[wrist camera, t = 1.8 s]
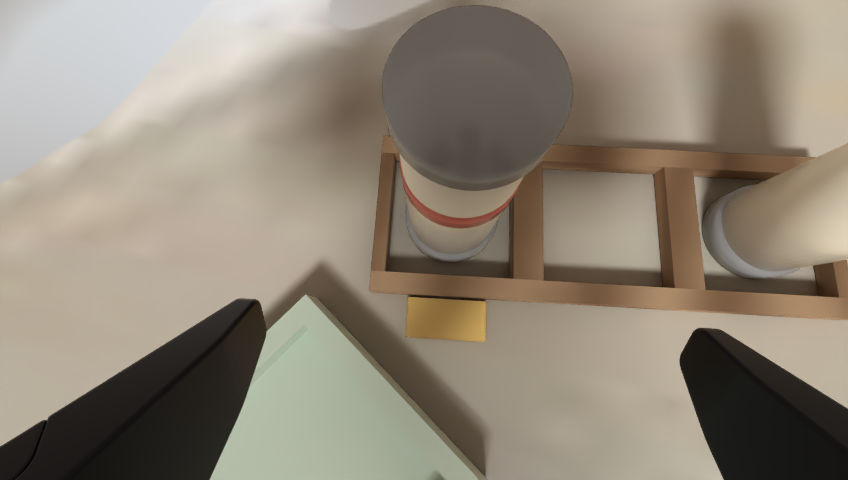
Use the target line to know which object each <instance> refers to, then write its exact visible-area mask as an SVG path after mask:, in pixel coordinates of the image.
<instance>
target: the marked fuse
mask: <svg viewBox="0 0 848 480" xmlns="http://www.w3.org/2000/svg"><path fill="white" fill-rule="evenodd" d="M572 96H573V90H572V79H571V73H570V70H569V67H568V64H567V61H566V59H565V57H564V55H563V53H562V52H561V50H560V49H559V47H558V46H557V44H556V43H555V42H554V41H553V39H552V38H551V37H550V36H549V35H548V34H547V33H546V32H545V31H544V30H542V29H541V28H540V27H539V26H538V25H536V24H535V23H533V22H532V21H530V20H528V19H527V18H525V17H523V16H521V15H519V14H516V13H514V12H511V11H508V10H505V9H501V8H497V7H491V6H480V5H469V6H459V7H453V8H449V9H446V10H442V11H439V12H437V13H434V14H432V15H430V16H428V17H426V18H424V19H422V20H421V21H419V22H418V23H416V24H415V25H414V26H412V27H411V28H410V29H409V30H408V31H407V32H406V33H405V34H404V35H403V36H402V37H401V38H400V39H399V40H398V42H397V43H396V44H395V46H394V48H393V49H392V51H391V53H390V55H389V57H388V59H387V62H386V64H385V68H384V73H383V79H382V97H383V102H384V107H385V112H386V117H387V123H388V128H389V132H390V135H391V138H392V140H393V143H394V145H395V146H396V148H397V150H398V152H399V153H400V169H401V175H402V181H403V186H404V189H405V192H406V198H407V205H406V222H407V227H408V232H409V235H410V237H411V239H412V241H413V242H414V244H415V245H416V247H417V248H418V249H419V250H420V251H421V252H423V253H424V254H425V255H427V256H428V257H430V258H432V259H435V260H438V261H442V262H450V263H452V262H460V261H464V260H467V259H470V258H472V257H474V256H475V255H477V254H478V253H479V252H480V251H482V250H483V249H484V247H485V246H486V245H487V243H488V242H489V240H490V239H491V237H492V236H493V234H494V232H495V229H496V226H497V222H498V218H499V217H500V215H501V213H502V212H503V210H504V209H505V208H506V207H507V206H508V204H509V203H510V201H511V199H512V198H513V196H514V195H515V193H516V191H517V190H518V188H519V186H520V184H521V181H522V179H523V177H524V176H525V175H526V174H528V173H529V172H530V171H531V170H533V169H534V168H535V167H536V166H537V165H538V164H539V163H540V161H541V160H542V159H543V158H544V156H545V155H546V153H547V152H548V150H549V149H550V147H551V146H552V144H553V143H554V141H555V140H556V138H557V136H558V135H559V133H560V132H561V130H562V129H563V127H564V125H565V123H566V120H567V118H568V116H569V112H570V109H571V104H572Z"/></svg>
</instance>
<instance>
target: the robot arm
mask: <svg viewBox="0 0 848 480" xmlns="http://www.w3.org/2000/svg"><path fill="white" fill-rule="evenodd" d="M265 338H266V324H265V320H264V316H263V312H262V308H261V304H260V302H259V301H258V300H256V299H243V298H241V299H237V300H235V301H233V302H231V303H230V304H228V305H227V306H225V307H223V308H222V309H220V310H219V311H217V312H215V313H214V314H212V315H211V316H209V317H207V318H206V319H204V320H203V321H201V322H199V323H198V324H196V325H195V326H193V327H191V328H190V329H188V330H187V331H185V332H183V333H182V334H180V335H179V336H177V337H175V338H174V339H172V340H171V341H169V342H167V343H166V344H164V345H163V346H161V347H159V348H158V349H156V350H155V351H153V352H151V353H150V354H148V355H147V356H145V357H143V358H142V359H140V360H139V361H137V362H135V363H134V364H132V365H131V366H129V367H127V368H126V369H124V370H123V371H121V372H119V373H118V374H116V375H115V376H113V377H111V378H110V379H108V380H107V381H105V382H103V383H102V384H100V385H99V386H97V387H95V388H94V389H92V390H91V391H89V392H87V393H86V394H84V395H83V396H81V397H79V398H78V399H76V400H75V401H73V402H71V403H70V404H68V405H67V406H65V407H63V408H62V409H60V410H59V411H57V412H55V413H54V414H52V415H51V416H49V417H48V419H47V420H43V421H41V422H39V423H38V424H36V425H34V426H33V427H31V428H30V429H28V430H26V431H25V432H23V433H22V434H20V435H18V436H17V437H15V438H14V439H12V440H10V441H9V442H7V443H5V444H4V445H2V446H0V480H210V478H211V476H212V474H213V471H214V469H215V467H216V465H217V463H218V460H219V458H220V456H221V454H222V452H223V449H224V447H225V445H226V443H227V441H228V438H229V436H230V434H231V432H232V430H233V428H234V425H235V423H236V421H237V419H238V416H239V414H240V412H241V409H242V407H243V404H244V402H245V399H246V396H247V393H248V390H249V387H250V384H251V381H252V378H253V375H254V372H255V369H256V366H257V363H258V360H259V357H260V354H261V351H262V348H263V345H264V342H265ZM680 367H681V371H682V374H683V376H684V379H685V382H686V385H687V388H688V391H689V394H690V397H691V400H692V402H693V405H694V408H695V411H696V414H697V417H698V420H699V423H700V426H701V428H702V431H703V434H704V436H705V439H706V441H707V444H708V446H709V448H710V451H711V453H712V455H713V457H714V459H715V462H716V464H717V466H718V468H719V470H720V472H721V475H722V477H723V479H724V480H848V409H847V408H846V407H844V406H843V405H841V404H839V403H838V402H836V401H834V400H833V399H831V398H830V397H828V396H826V395H825V394H823V393H822V392H820V391H818V390H817V389H815V388H814V387H812V386H810V385H809V384H807V383H806V382H804V381H802V380H801V379H799V378H798V377H796V376H794V375H793V374H791V373H790V372H788V371H786V370H785V369H783V368H781V367H780V366H778V365H777V364H775V363H773V362H772V361H770V360H769V359H767V358H765V357H764V356H762V355H761V354H759V353H757V352H756V351H754V350H753V349H751V348H749V347H748V346H746V345H745V344H743V343H741V342H740V341H738V340H737V339H735V338H733V337H732V336H730V335H729V334H727V333H725V332H724V331H722V330H719V329H711V328H698V329H696V330H695V331H694V332H693V333H692V335H691V337H690V338H689V340H688V342H687V344H686V346H685V348H684V349H683V351H682V353H681V355H680Z"/></svg>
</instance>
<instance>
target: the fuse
mask: <svg viewBox="0 0 848 480" xmlns="http://www.w3.org/2000/svg"><path fill="white" fill-rule="evenodd" d="M702 234H703V239H704V242H705V245H706V247H707V249H708V251H709V253H710V254H711V255H712V257H713V258H714V259H715V260H716V262H718V263H719V264H720V265H721V266H722V267H723V268H725V269H726V270H728V271H729V272H731V273H733V274H735V275H737V276H740V277H744V278H749V279H763V278H769V277H775V276H781V275H786V274H790V273H793V272H795V271H797V270H798V269H800V268H803V267H808V266H814V265H819V264H825V263H831V262H836V261H842V260H847V259H848V143H847V144H845V145H842V146H840V147H838V148H836V149H834V150H831V151H829V152H827V153H825V154H823V155H821V156H818V157H816V158H814V159H812V160H810V161H807V162H805V163H803V164H801V165H799V166H796V167H794V168H792V169H790V170H788V171H785V172H783V173H781V174H779V175H777V176H775V177H772V178H770V179H768V180H766V181H764V182H761V183H759V184H757V185H749V186H744V187H741V188H739V189H737V190H735V191H732V192H730V193H728V194H726V195H724V196H722V197H720V198H718V199H717V200H715V201H714V202H713V203H712V204H711V205H710V206H709V207H708V209H707V211H706V212H705V215H704V218H703V222H702Z"/></svg>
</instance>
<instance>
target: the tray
mask: <svg viewBox="0 0 848 480" xmlns="http://www.w3.org/2000/svg"><path fill="white" fill-rule="evenodd" d="M210 480H487V479H486V477H485V476H484V475H483V474H482V473H481V472H480V471H479V470H478V469H477V468H476V467H475V466H474V465H473V463H472V462H471V461H470V460H469V459H468V458H467V457H466V456H465V455H464V454H463V453H462V452H461V451H460V450H459V449H458V448H457V446H456V445H455V444H454V443H453V442H452V441H451V440H450V439H449V438H448V437H447V436H446V435H445V434H444V433H443V432H442V430H441V429H440V428H439V427H438V426H437V425H436V424H435V423H434V422H433V421H432V420H431V419H430V418H429V417H428V416H427V414H426V413H425V412H424V411H423V410H422V409H421V408H420V407H419V406H418V405H417V404H416V403H415V402H414V401H413V400H412V399H411V397H410V396H409V395H408V394H407V393H406V392H405V391H404V390H403V389H402V388H401V387H400V386H399V385H398V384H397V383H396V381H395V380H394V379H393V378H392V377H391V376H390V375H389V374H388V373H387V372H386V371H385V370H384V369H383V368H382V367H381V366H380V364H379V363H378V362H377V361H376V360H375V359H374V358H373V357H372V356H371V355H370V354H369V353H368V352H367V351H366V350H365V348H364V347H363V346H362V345H361V344H360V343H359V342H358V341H357V340H356V339H355V338H354V337H353V336H352V335H351V334H350V333H349V331H348V330H347V329H346V328H345V327H344V326H343V325H342V324H341V323H340V322H339V321H338V320H337V319H336V318H335V317H334V315H333V314H332V313H331V312H330V311H329V310H328V309H327V308H326V307H325V306H324V305H323V304H322V303H321V302H320V301H319V299H318V298H315V297H312V296H309V295H306V294H305V295H304V296H303V297H302V298H301V299H300V300H299V301H298V302H297V303H296V304H295V305H294V306H293V307H292V308H291V309H290V310H289V311H288V312H287V313H285V314H284V315H283V316H282V317H281V318H280V319H279V320H278V321H277V322H276V323H275V324H274V325H273V326H272V327H271V328H270V329H269V330H268V331H267V332H266V338H265V342H264V345H263V348H262V351H261V354H260V357H259V360H258V363H257V366H256V369H255V372H254V375H253V378H252V381H251V384H250V387H249V390H248V393H247V396H246V399H245V402H244V404H243V407H242V409H241V412H240V414H239V416H238V419H237V421H236V423H235V425H234V428H233V430H232V432H231V434H230V436H229V438H228V441H227V443H226V445H225V447H224V449H223V452H222V454H221V456H220V458H219V460H218V463H217V465H216V467H215V469H214V471H213V474H212V476H211V478H210Z"/></svg>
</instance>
